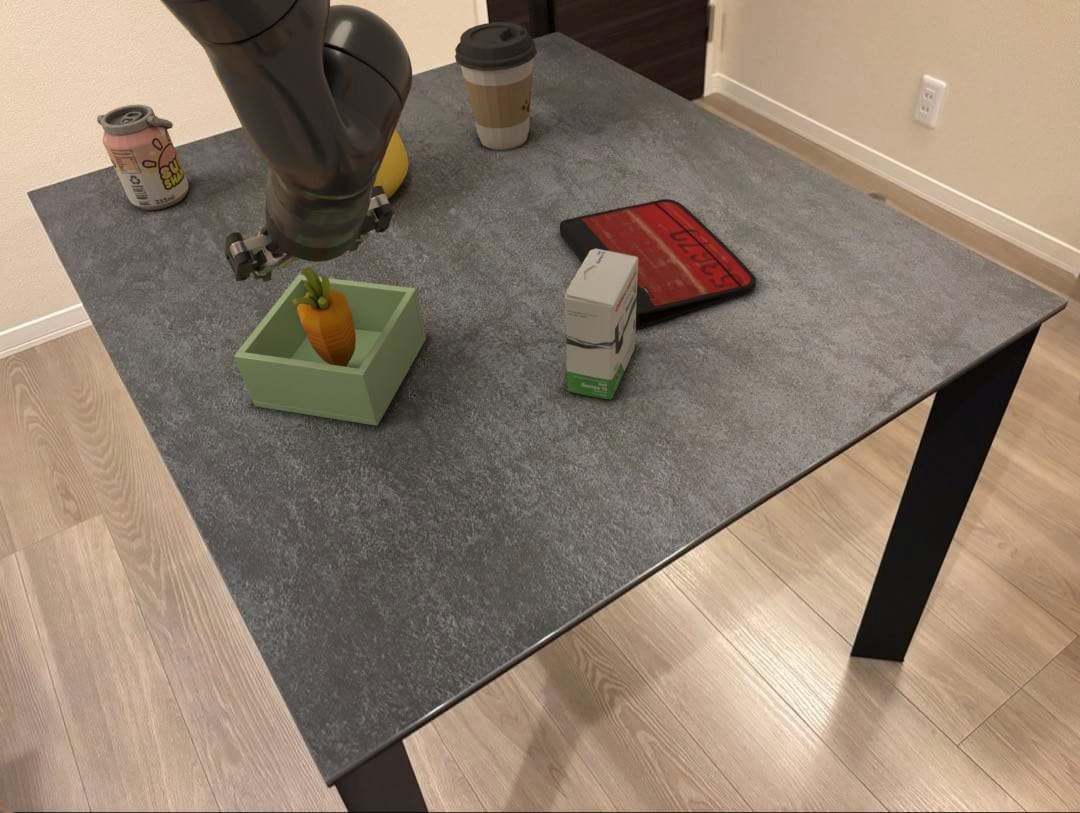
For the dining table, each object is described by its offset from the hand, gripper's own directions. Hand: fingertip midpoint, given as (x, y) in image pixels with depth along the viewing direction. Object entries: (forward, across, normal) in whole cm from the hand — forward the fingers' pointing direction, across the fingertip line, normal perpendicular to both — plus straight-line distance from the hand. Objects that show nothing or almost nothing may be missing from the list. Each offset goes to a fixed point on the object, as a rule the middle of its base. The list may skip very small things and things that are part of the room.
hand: (306, 256), depth 78 cm
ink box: (-2, -23, +21) cm, 31 cm away
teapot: (+35, -15, -16) cm, 42 cm away
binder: (+7, -38, +13) cm, 41 cm away
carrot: (+8, 0, +10) cm, 13 cm away
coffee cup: (+34, -39, -15) cm, 54 cm away
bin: (+9, 0, +11) cm, 14 cm away
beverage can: (+45, +8, -25) cm, 52 cm away
